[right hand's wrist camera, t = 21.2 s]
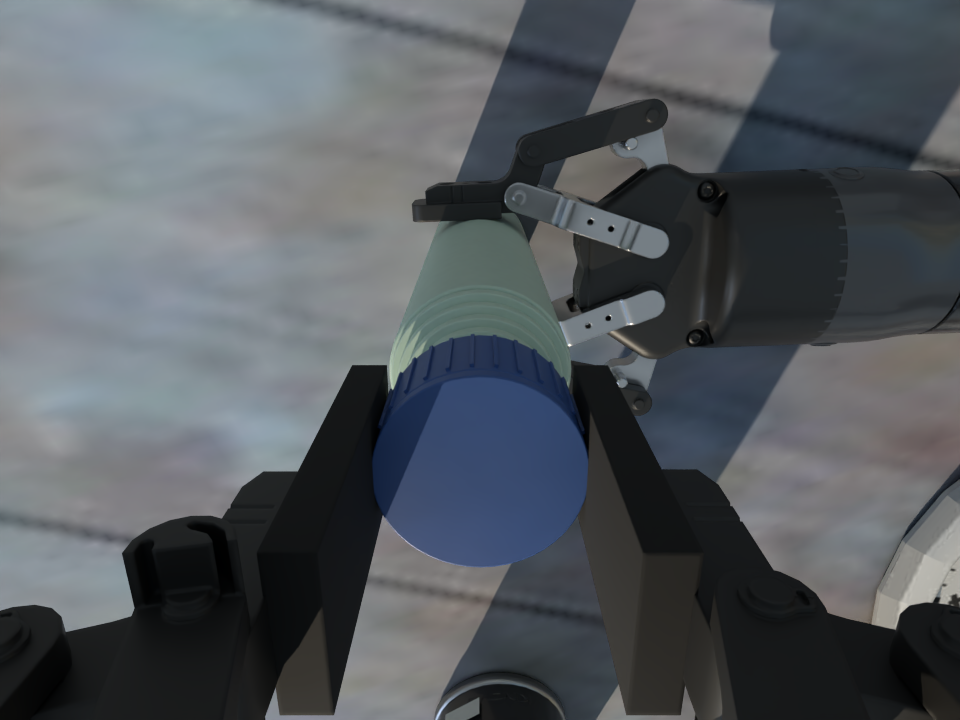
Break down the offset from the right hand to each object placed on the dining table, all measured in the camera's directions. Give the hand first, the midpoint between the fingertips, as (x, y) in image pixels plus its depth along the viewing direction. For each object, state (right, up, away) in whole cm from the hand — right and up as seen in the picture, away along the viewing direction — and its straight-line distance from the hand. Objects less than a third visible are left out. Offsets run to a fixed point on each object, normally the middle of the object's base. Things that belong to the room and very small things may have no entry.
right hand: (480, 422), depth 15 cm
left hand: (-3, +5, +14) cm, 15 cm away
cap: (0, -1, -2) cm, 2 cm away
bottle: (0, +8, +20) cm, 22 cm away
